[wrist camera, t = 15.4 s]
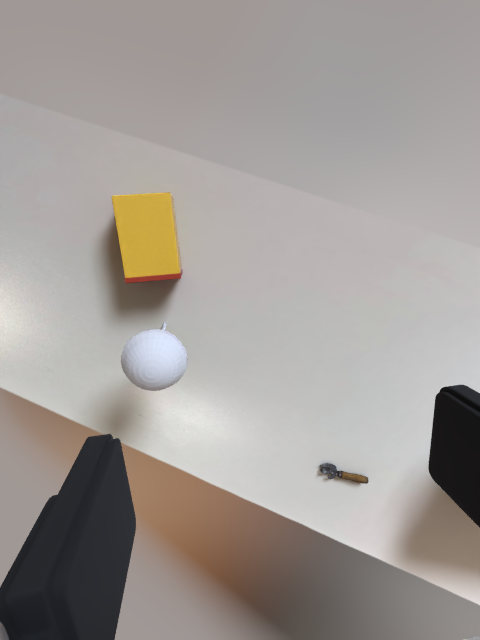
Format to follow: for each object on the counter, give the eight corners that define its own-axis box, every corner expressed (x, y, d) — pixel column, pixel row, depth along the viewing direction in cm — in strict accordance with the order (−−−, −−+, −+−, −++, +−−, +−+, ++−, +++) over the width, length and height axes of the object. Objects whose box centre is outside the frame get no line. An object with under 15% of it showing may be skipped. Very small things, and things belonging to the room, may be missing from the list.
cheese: (121, 200, 38) (110, 195, 33) (173, 197, 39) (170, 192, 34) (133, 277, 41) (125, 283, 36) (182, 273, 41) (181, 278, 36)
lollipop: (193, 308, 43) (194, 349, 28) (182, 349, 44) (178, 407, 30) (145, 297, 41) (121, 333, 27) (136, 339, 43) (108, 395, 28)
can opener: (366, 475, 54) (370, 480, 53) (359, 486, 54) (363, 491, 53) (321, 459, 52) (324, 464, 51) (314, 471, 52) (316, 476, 51)
